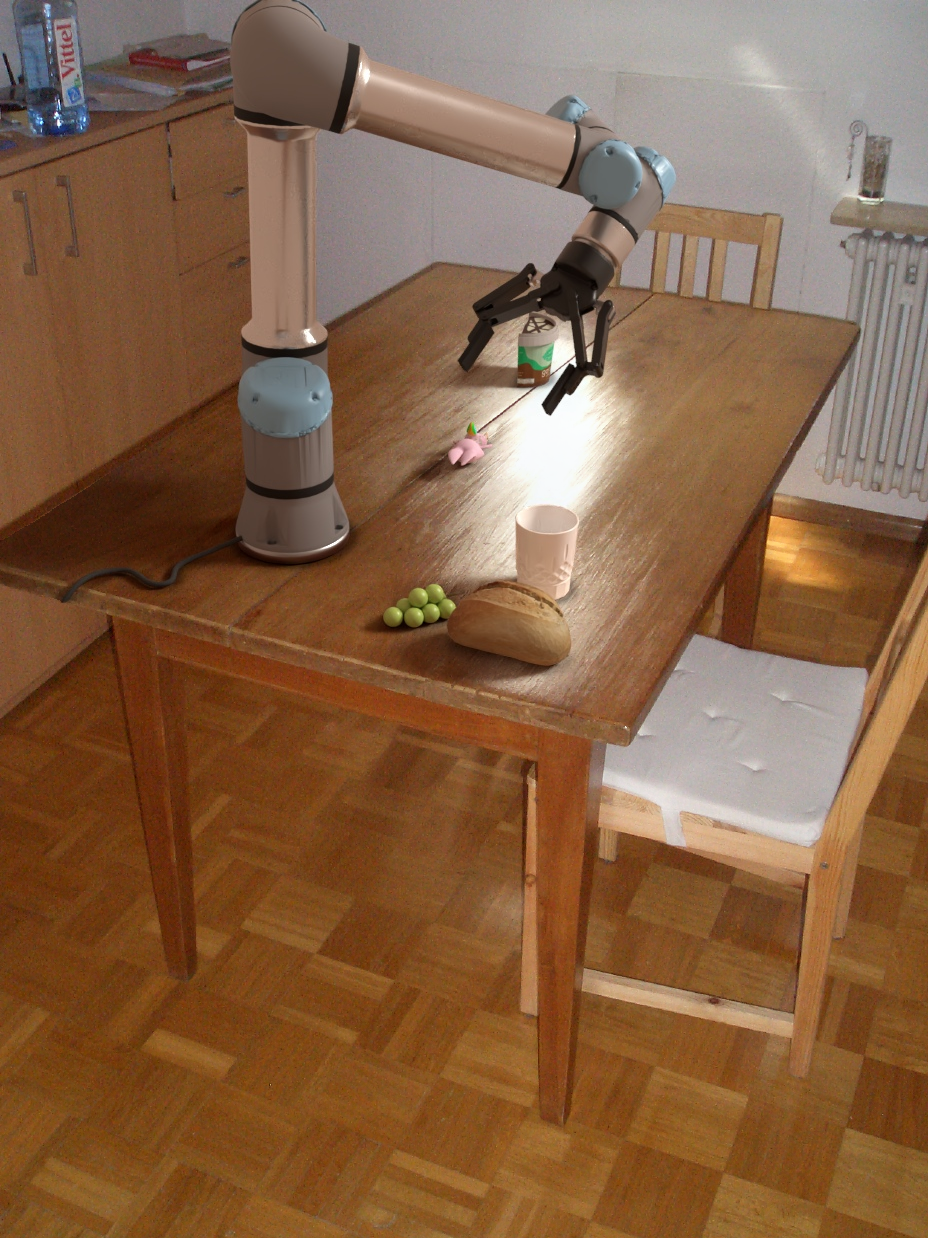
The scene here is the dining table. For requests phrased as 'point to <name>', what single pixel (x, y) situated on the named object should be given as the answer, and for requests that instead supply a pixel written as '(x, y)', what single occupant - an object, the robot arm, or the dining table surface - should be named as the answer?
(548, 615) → the bread roll
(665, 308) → the dining table surface
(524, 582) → the white cup
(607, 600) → the dining table surface
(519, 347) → the food container
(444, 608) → the grapes
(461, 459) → the rabbit figure
